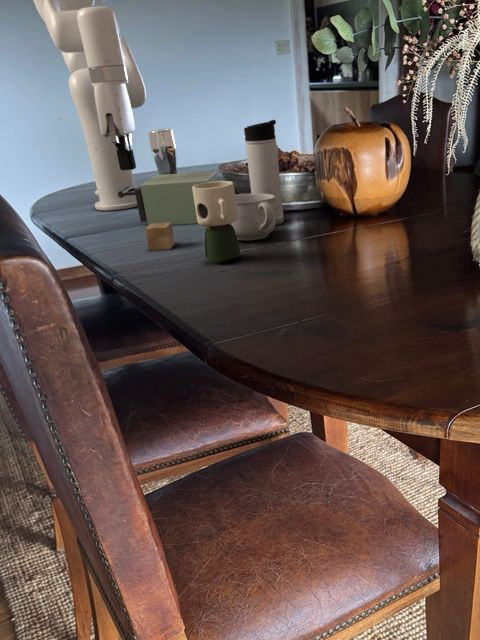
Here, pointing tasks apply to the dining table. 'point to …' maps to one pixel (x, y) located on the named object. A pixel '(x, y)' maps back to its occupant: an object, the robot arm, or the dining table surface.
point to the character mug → (217, 218)
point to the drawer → (139, 200)
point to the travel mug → (264, 163)
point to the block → (160, 236)
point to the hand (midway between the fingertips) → (128, 169)
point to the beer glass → (163, 150)
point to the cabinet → (173, 197)
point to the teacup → (254, 216)
